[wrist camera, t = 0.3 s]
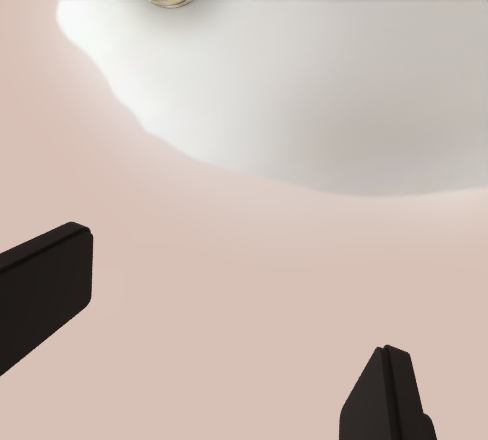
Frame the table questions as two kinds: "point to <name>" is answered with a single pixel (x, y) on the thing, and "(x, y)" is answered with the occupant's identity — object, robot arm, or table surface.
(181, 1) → the coffee can
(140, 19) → the table surface
